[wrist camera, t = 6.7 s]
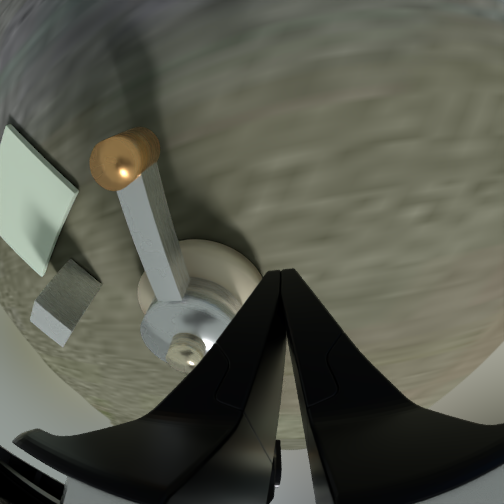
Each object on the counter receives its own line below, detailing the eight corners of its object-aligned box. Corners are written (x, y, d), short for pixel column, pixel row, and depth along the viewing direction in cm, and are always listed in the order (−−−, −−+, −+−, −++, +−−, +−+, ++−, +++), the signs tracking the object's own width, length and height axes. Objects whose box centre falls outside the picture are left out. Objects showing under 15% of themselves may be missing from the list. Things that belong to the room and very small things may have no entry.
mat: (44, 273, 23) (41, 277, 23) (-11, 216, 20) (-15, 219, 20) (79, 190, 18) (74, 193, 18) (10, 123, 15) (6, 125, 14)
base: (213, 347, 26) (209, 363, 25) (127, 287, 23) (118, 302, 21) (292, 296, 22) (293, 313, 21) (193, 212, 19) (185, 226, 17)
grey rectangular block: (89, 304, 25) (62, 347, 20) (60, 280, 24) (29, 320, 19) (102, 284, 23) (72, 331, 18) (70, 258, 22) (34, 300, 17)
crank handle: (250, 342, 22) (245, 391, 18) (170, 342, 23) (156, 386, 19) (202, 110, 13) (173, 121, 9) (93, 140, 14) (44, 163, 10)
